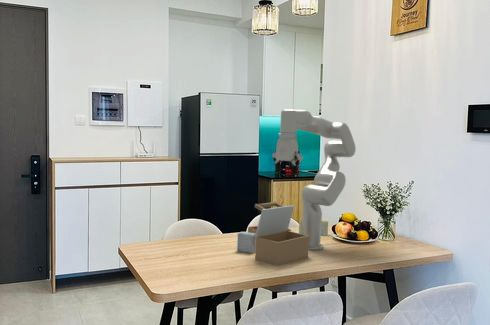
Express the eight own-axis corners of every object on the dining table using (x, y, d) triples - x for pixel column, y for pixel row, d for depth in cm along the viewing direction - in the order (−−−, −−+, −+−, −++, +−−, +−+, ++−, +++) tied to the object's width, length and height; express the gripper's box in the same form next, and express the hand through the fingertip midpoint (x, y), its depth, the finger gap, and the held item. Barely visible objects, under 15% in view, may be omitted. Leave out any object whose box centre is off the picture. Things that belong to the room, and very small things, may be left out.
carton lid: (256, 236, 203) (243, 228, 209) (287, 230, 219) (274, 222, 224) (263, 210, 200) (249, 202, 205) (294, 205, 215) (281, 198, 221)
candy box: (327, 235, 257) (328, 220, 257) (327, 236, 255) (328, 221, 255) (298, 233, 259) (299, 219, 258) (298, 234, 257) (299, 219, 256)
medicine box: (255, 251, 216) (256, 233, 216) (252, 253, 212) (252, 235, 212) (240, 248, 220) (241, 231, 219) (236, 251, 216) (237, 233, 215)
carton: (255, 258, 204) (256, 236, 203) (286, 250, 219) (287, 230, 219) (277, 265, 195) (278, 242, 194) (308, 257, 210) (309, 235, 209)
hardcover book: (248, 233, 255) (248, 225, 255) (282, 232, 262) (282, 224, 262) (255, 238, 244) (255, 230, 244) (290, 236, 251) (291, 229, 251)
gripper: (268, 135, 213) (267, 171, 214) (297, 136, 201) (295, 175, 202) (279, 135, 218) (277, 171, 219) (308, 137, 206) (306, 174, 207)
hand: (286, 173), depth 210 cm, fingers open, 9 cm apart
